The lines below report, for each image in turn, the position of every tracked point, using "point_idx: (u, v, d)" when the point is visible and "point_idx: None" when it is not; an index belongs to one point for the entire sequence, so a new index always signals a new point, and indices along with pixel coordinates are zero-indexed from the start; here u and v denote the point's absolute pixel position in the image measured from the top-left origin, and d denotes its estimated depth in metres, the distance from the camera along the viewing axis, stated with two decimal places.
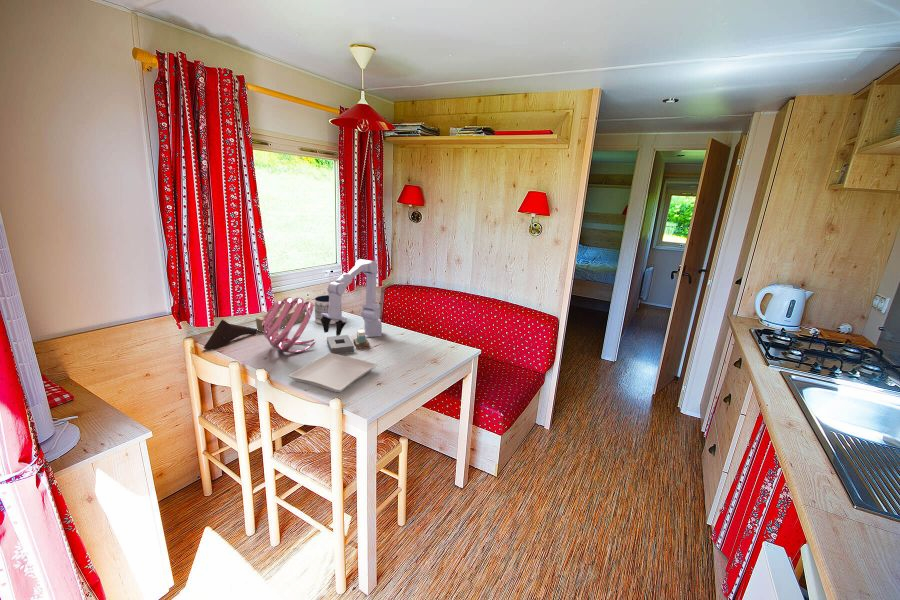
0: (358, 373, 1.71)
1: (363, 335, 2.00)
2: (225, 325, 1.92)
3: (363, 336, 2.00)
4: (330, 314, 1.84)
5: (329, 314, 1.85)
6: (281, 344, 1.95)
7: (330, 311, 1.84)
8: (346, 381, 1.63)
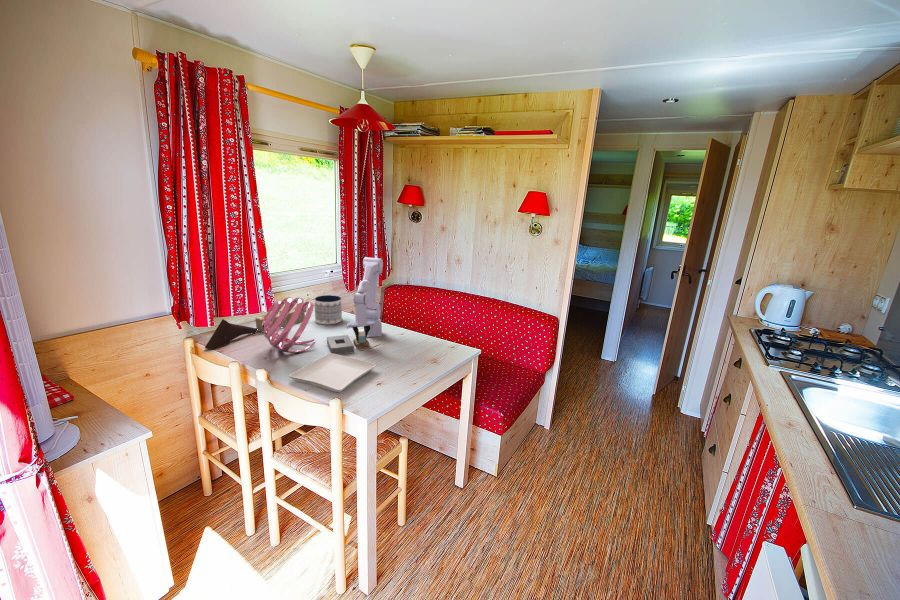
0: (358, 373, 1.71)
1: (363, 335, 2.00)
2: (226, 325, 1.93)
3: (363, 336, 2.00)
4: (362, 323, 1.97)
5: (361, 323, 1.97)
6: (281, 344, 1.95)
7: (362, 320, 1.97)
8: (346, 381, 1.63)
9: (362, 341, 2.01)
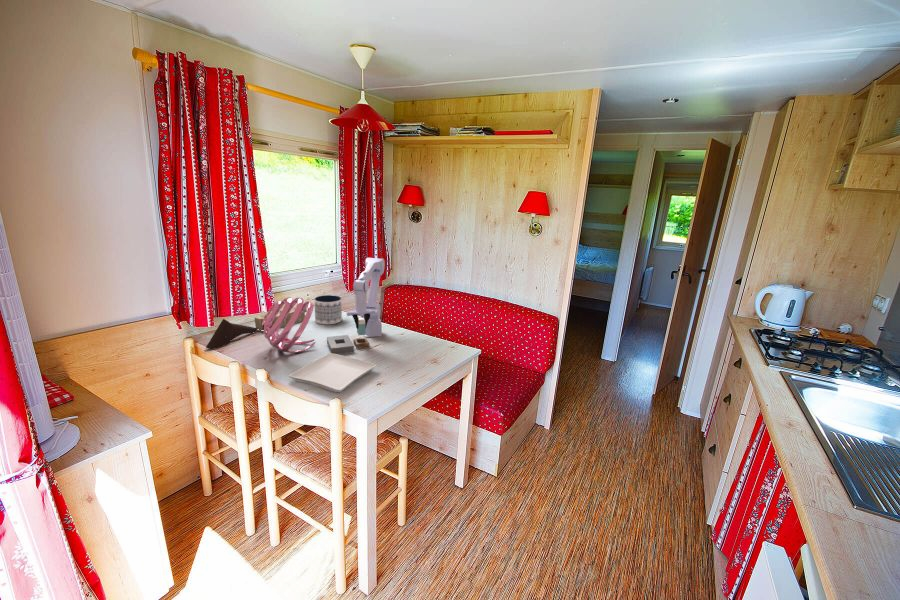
0: (358, 373, 1.71)
1: (363, 323, 1.98)
2: (226, 324, 1.93)
3: (363, 324, 1.98)
4: (362, 311, 1.96)
5: (361, 311, 1.95)
6: (281, 344, 1.95)
7: (362, 308, 1.95)
8: (346, 381, 1.63)
9: (362, 329, 1.99)
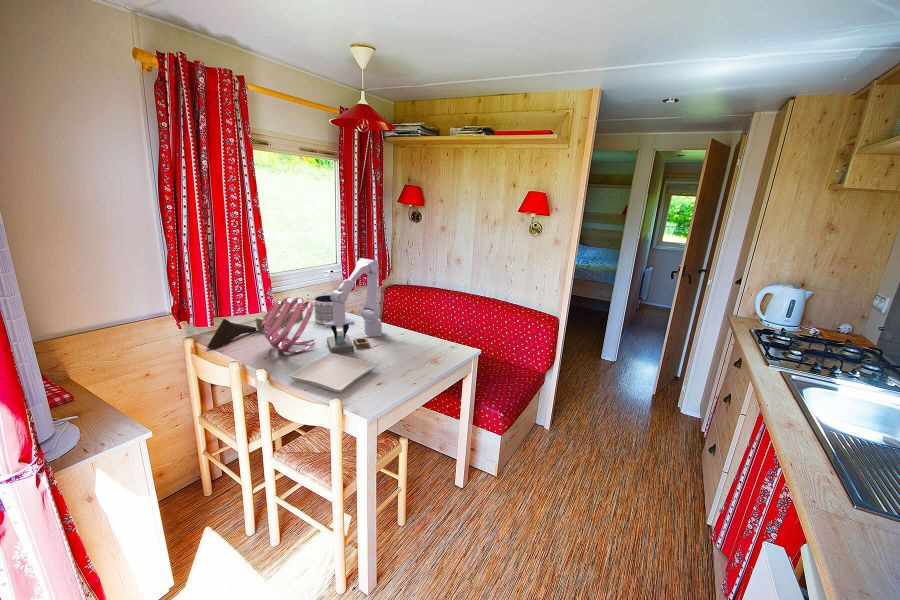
0: (358, 373, 1.71)
1: (342, 334, 1.95)
2: (227, 324, 1.94)
3: (342, 335, 1.95)
4: (341, 322, 1.92)
5: (339, 322, 1.92)
6: (281, 344, 1.95)
7: (340, 319, 1.92)
8: (346, 381, 1.63)
9: (341, 341, 1.95)
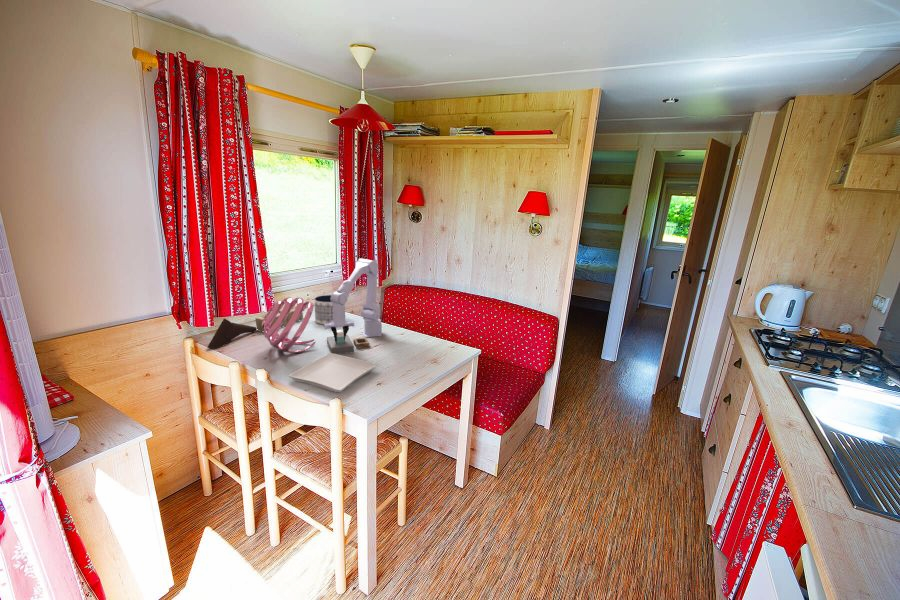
0: (358, 373, 1.71)
1: (342, 336, 1.95)
2: (227, 324, 1.94)
3: (342, 337, 1.95)
4: (341, 323, 1.93)
5: (339, 323, 1.92)
6: (281, 344, 1.95)
7: (340, 320, 1.92)
8: (346, 381, 1.63)
9: (341, 342, 1.96)
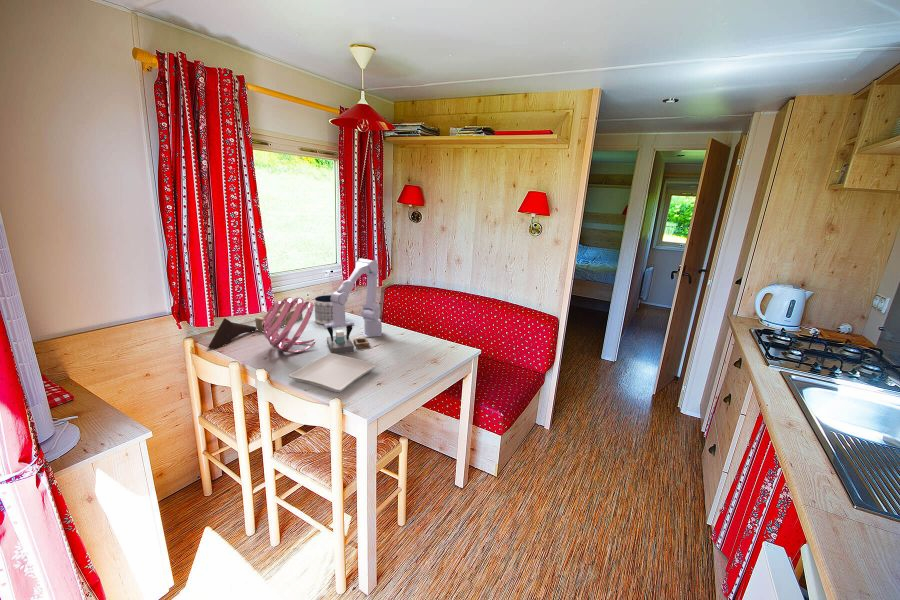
0: (358, 373, 1.71)
1: (342, 336, 1.95)
2: (228, 324, 1.94)
3: (342, 337, 1.95)
4: (341, 323, 1.93)
5: (339, 323, 1.92)
6: (281, 344, 1.95)
7: (340, 320, 1.92)
8: (346, 381, 1.63)
9: (341, 342, 1.96)
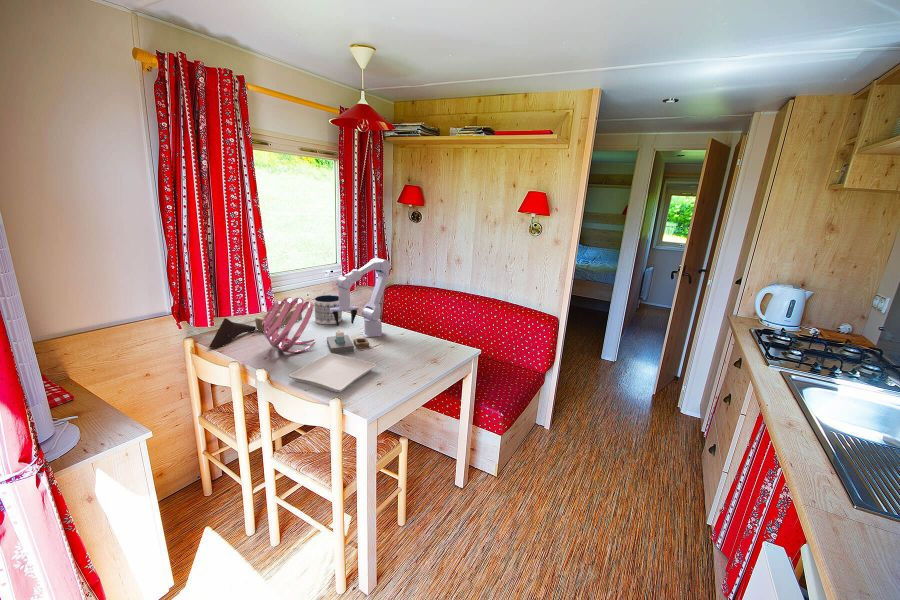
0: (358, 373, 1.71)
1: (342, 336, 1.95)
2: (228, 323, 1.95)
3: (342, 337, 1.95)
4: (346, 307, 1.99)
5: (345, 307, 1.98)
6: (281, 344, 1.95)
7: (345, 304, 1.98)
8: (346, 381, 1.63)
9: (341, 342, 1.96)
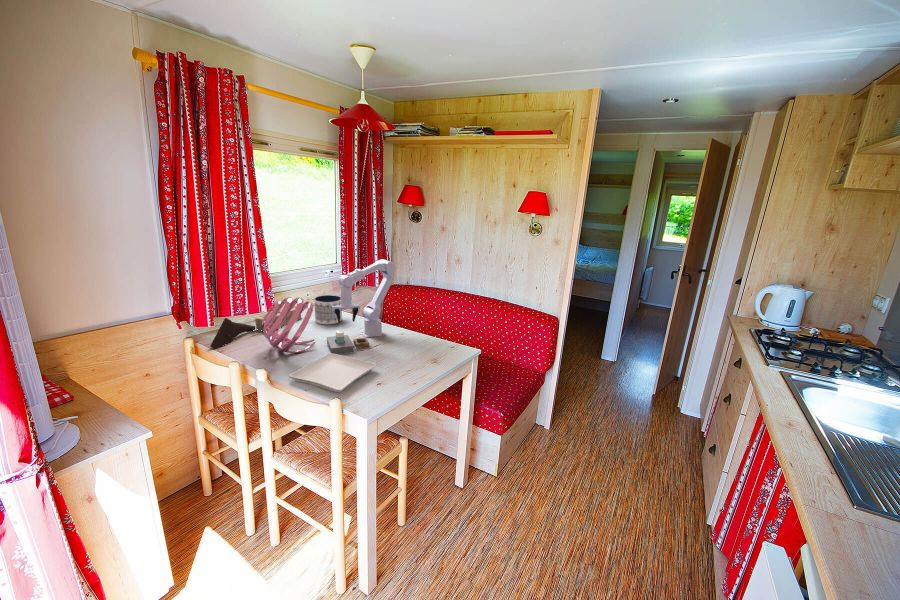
0: (358, 373, 1.71)
1: (342, 336, 1.95)
2: (229, 323, 1.95)
3: (342, 337, 1.95)
4: (347, 305, 2.02)
5: (346, 305, 2.02)
6: (281, 344, 1.95)
7: (347, 302, 2.01)
8: (346, 381, 1.63)
9: (341, 342, 1.96)
